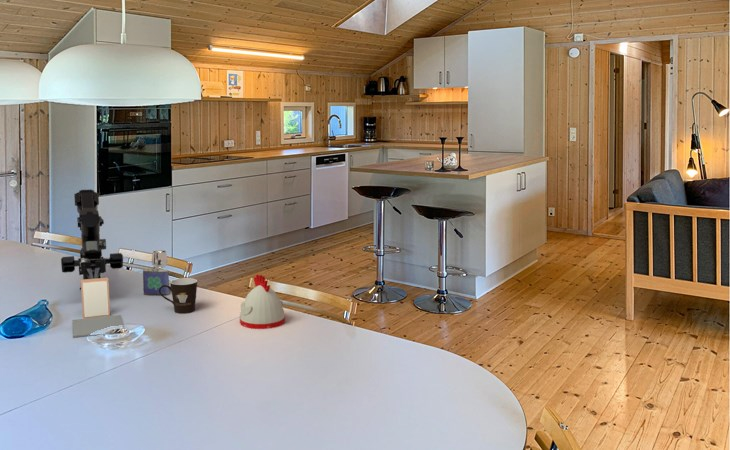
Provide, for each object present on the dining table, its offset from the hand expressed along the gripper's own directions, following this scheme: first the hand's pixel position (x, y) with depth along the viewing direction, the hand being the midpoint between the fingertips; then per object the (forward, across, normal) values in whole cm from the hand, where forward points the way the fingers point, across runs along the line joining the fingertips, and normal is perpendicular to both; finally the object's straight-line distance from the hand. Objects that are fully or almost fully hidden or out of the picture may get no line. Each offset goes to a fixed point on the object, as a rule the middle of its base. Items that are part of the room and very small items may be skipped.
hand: (94, 284), depth 208 cm
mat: (+18, 0, -6) cm, 19 cm away
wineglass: (-14, +24, +27) cm, 39 cm away
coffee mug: (+13, +26, 0) cm, 29 cm away
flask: (-3, +20, +15) cm, 26 cm away
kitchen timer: (+28, +47, -15) cm, 57 cm away
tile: (+11, 0, +2) cm, 11 cm away
